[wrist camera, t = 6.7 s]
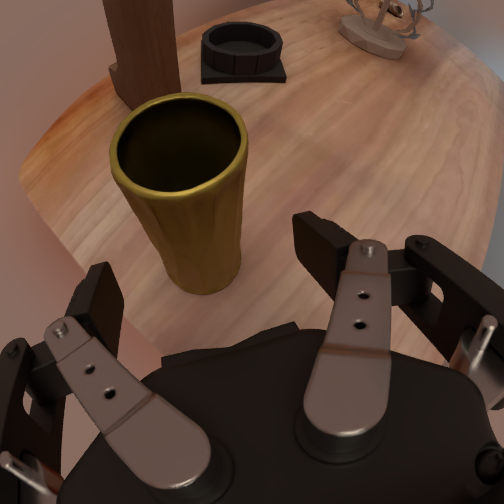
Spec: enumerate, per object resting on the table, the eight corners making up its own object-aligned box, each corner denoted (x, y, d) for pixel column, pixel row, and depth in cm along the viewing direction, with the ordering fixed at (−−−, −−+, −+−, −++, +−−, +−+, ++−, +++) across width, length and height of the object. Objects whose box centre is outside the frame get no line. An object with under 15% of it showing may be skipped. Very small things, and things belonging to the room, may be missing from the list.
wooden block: (115, 93, 28) (81, -33, 11) (146, 76, 30) (126, -49, 13) (149, 129, 27) (113, -30, 10) (184, 108, 28) (172, -46, 11)
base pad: (201, 84, 30) (200, 58, 26) (201, 44, 33) (201, 22, 29) (285, 82, 31) (291, 57, 27) (271, 43, 34) (275, 22, 30)
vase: (177, 214, 24) (139, 80, 11) (248, 231, 24) (274, 98, 11) (155, 283, 22) (70, 194, 9) (231, 303, 22) (239, 231, 9)
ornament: (370, 1, 48) (373, -9, 44) (390, 6, 49) (394, -3, 45) (386, 14, 45) (390, 3, 42) (406, 20, 46) (411, 10, 43)
